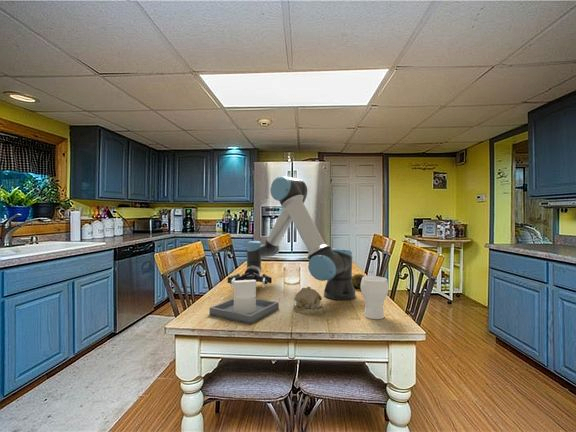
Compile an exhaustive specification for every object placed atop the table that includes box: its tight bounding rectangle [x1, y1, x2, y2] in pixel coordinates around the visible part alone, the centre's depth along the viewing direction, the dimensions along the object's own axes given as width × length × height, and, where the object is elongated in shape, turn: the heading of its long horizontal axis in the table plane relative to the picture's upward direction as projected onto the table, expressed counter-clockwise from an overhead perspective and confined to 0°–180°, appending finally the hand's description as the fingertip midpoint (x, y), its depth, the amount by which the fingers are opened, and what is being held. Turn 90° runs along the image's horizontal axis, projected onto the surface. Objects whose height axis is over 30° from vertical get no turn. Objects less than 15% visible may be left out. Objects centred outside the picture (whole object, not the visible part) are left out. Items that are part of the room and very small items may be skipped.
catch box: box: [209, 297, 280, 325], centre depth 129 cm, size 20×20×3 cm
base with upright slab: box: [233, 280, 257, 314], centre depth 129 cm, size 9×9×12 cm
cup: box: [360, 275, 389, 320], centre depth 125 cm, size 11×11×15 cm
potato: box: [352, 273, 365, 289], centre depth 171 cm, size 8×13×8 cm, turn 176°
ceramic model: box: [292, 286, 325, 317], centre depth 132 cm, size 14×11×10 cm
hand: (247, 284), depth 138 cm, fingers open, 13 cm apart
